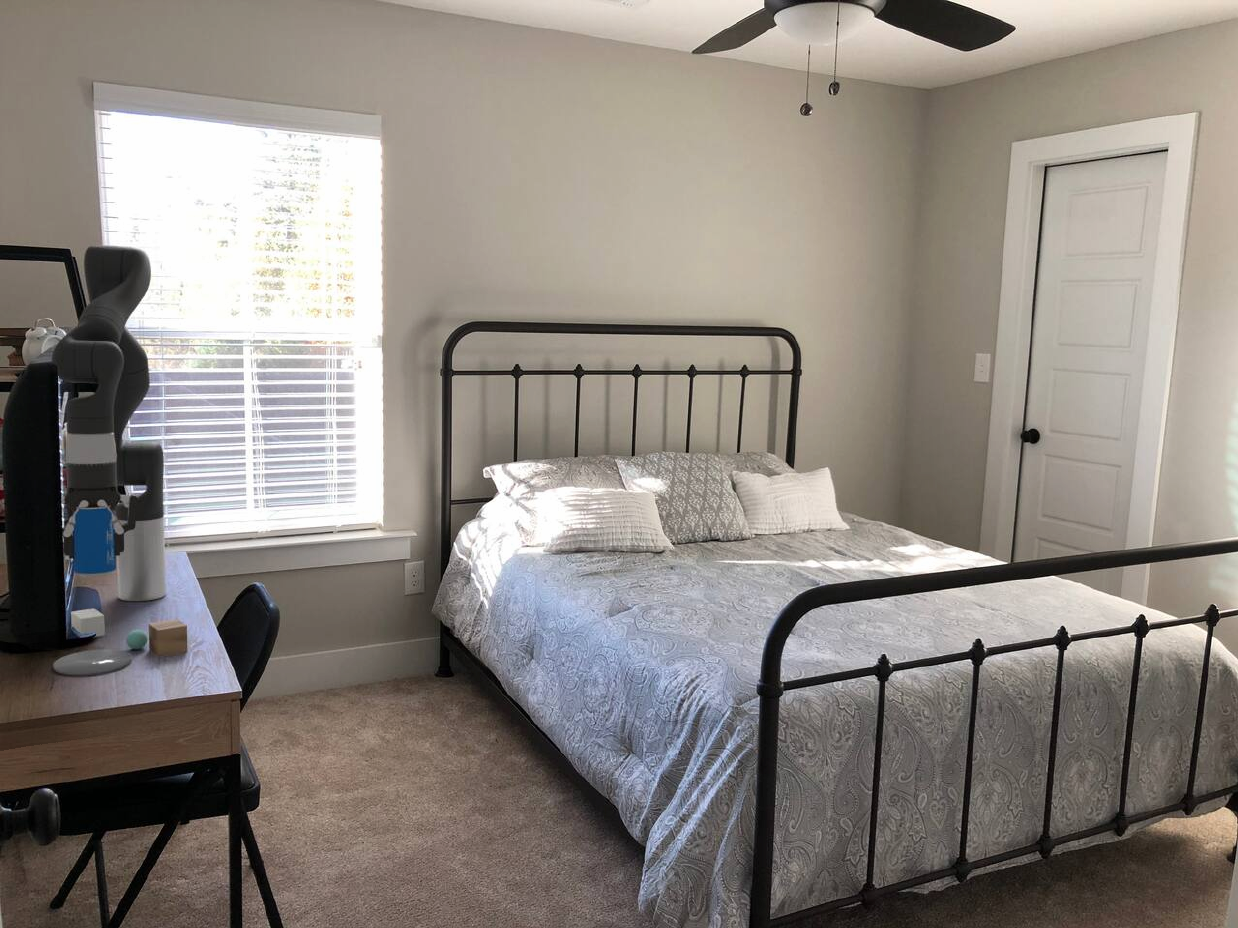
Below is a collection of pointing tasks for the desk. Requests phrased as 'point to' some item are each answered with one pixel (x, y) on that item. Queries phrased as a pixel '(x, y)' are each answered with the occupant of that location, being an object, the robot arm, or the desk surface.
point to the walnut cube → (168, 637)
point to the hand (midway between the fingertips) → (94, 556)
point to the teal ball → (136, 639)
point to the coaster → (92, 662)
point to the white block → (88, 621)
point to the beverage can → (94, 542)
